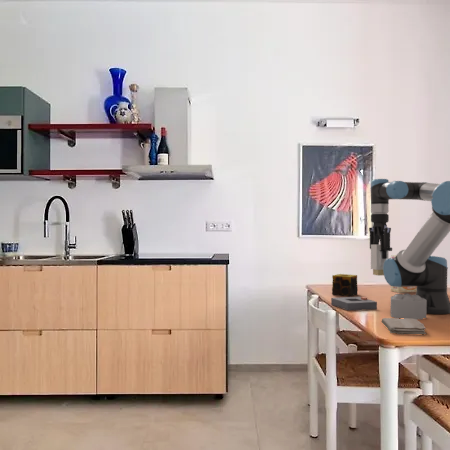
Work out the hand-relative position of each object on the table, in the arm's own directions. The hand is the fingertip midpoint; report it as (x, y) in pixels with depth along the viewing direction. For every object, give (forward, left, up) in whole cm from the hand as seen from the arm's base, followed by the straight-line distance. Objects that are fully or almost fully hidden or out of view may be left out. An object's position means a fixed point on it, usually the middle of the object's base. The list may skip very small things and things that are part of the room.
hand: (379, 265), depth 203 cm
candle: (+30, 0, -18) cm, 35 cm away
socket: (-2, +14, -18) cm, 23 cm away
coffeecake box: (+32, -38, -18) cm, 53 cm away
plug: (0, -2, -4) cm, 5 cm away
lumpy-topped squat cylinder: (-25, +4, -18) cm, 31 cm away
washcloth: (-43, +19, -18) cm, 50 cm away
